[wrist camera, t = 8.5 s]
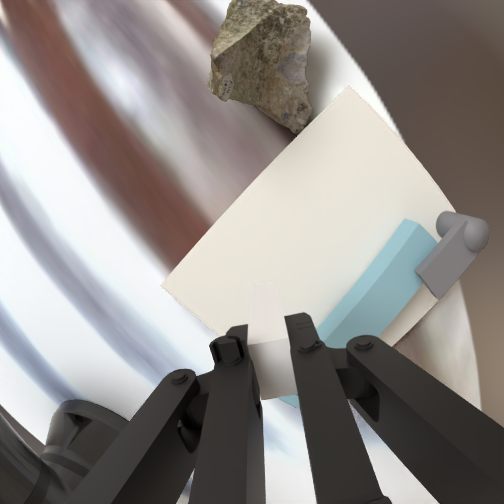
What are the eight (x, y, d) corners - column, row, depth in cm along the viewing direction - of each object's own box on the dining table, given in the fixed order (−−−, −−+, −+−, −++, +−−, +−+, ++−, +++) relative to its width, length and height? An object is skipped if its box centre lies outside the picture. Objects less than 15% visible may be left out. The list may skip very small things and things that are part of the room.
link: (308, 398, 26) (311, 415, 24) (261, 372, 26) (261, 389, 23) (437, 251, 22) (452, 258, 20) (396, 209, 22) (409, 214, 19)
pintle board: (314, 400, 28) (322, 442, 22) (164, 280, 25) (139, 309, 20) (472, 248, 24) (511, 265, 18) (345, 89, 21) (368, 65, 15)
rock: (316, 137, 21) (206, 98, 14) (259, 134, 25) (156, 108, 18) (334, 16, 18) (245, -50, 11) (279, 26, 22) (191, -19, 15)
